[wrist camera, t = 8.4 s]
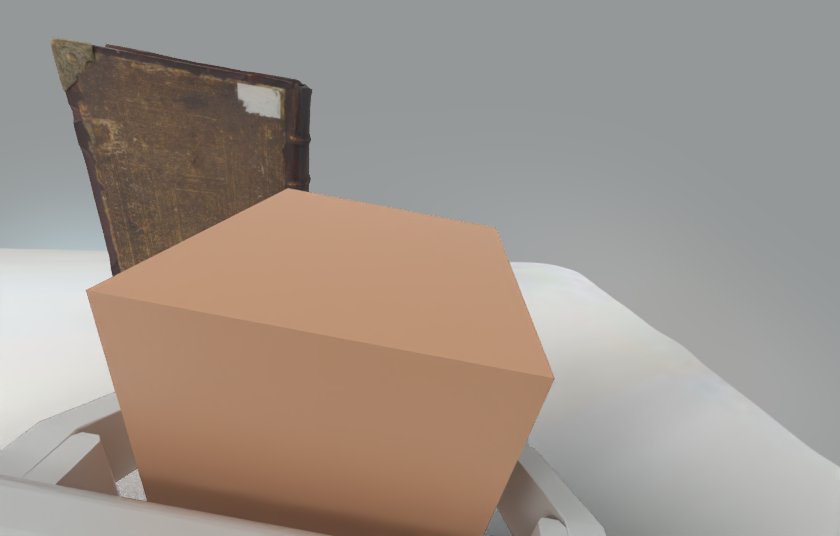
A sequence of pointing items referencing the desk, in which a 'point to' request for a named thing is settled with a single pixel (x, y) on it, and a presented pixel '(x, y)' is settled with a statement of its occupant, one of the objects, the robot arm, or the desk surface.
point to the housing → (327, 368)
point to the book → (179, 142)
